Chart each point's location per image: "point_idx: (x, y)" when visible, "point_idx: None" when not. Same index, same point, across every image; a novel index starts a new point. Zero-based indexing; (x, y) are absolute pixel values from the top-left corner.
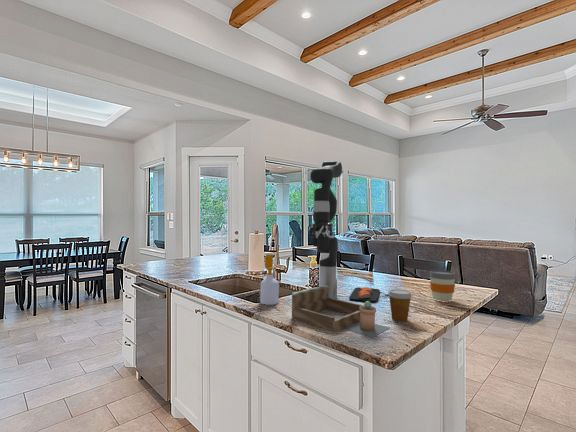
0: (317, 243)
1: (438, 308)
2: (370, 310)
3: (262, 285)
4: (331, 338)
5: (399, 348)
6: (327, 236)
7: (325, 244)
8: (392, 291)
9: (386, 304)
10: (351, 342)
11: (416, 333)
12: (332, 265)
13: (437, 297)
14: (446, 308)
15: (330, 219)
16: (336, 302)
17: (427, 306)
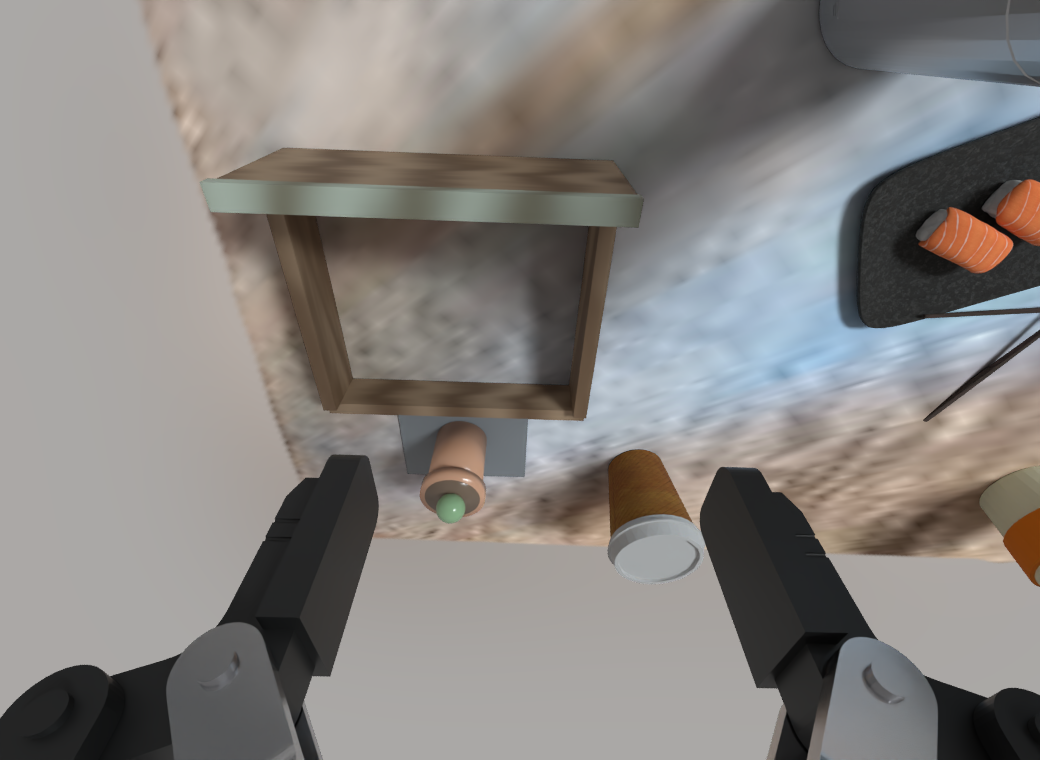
0: (357, 559)
1: (863, 506)
2: (432, 511)
3: None
4: (288, 406)
5: (397, 528)
6: (789, 711)
7: (717, 492)
8: (655, 539)
9: (848, 368)
10: (321, 453)
11: (532, 525)
12: None
13: (1004, 499)
14: (874, 520)
15: None
16: (591, 267)
17: (881, 479)
